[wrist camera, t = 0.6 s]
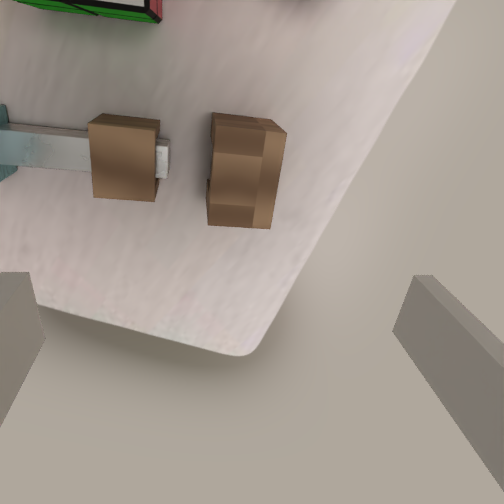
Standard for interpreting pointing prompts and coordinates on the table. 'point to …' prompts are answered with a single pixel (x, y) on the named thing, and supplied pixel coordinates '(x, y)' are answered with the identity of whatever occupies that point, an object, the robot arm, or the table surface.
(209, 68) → the table surface
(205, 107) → the table surface
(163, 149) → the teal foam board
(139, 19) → the puzzle cube
